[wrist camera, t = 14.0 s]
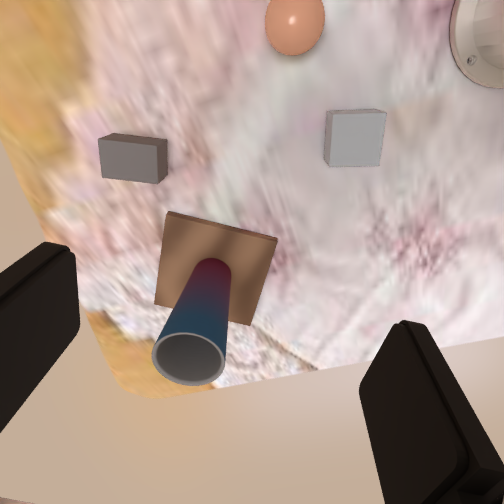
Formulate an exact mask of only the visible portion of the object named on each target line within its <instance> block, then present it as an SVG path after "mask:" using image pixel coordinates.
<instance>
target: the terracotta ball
mask: <svg viewBox="0 0 504 504" xmlns="http://www.w3.org/2000/svg"><path fill="white" fill-rule="evenodd" d="M324 21H325V13H324V7H323V3H322V1H321V0H271V1H270V3H269V5H268V8H267V11H266V16H265V30H266V35H267V38H268V40H269V42H270V44H271V45H272V47H273V48H274V49H275V50H277V51H278V52H280V53H282V54H285V55H299V54H302V53H305V52H306V51H308V50H309V49H311V48H312V47H313V46H314V45H315V43H316V42H317V41H318V39H319V37H320V35H321V33H322V30H323V27H324Z"/></svg>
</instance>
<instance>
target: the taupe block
mask: <svg viewBox="0 0 504 504" xmlns="http://www.w3.org/2000/svg"><path fill="white" fill-rule="evenodd" d="M98 146H99V155H100V163H101V172H102V178H109V179H118V180H126V181H135V182H144V183H152V184H158V183H160V182H161V181H162V180H163V179H164V178H165V177H166V176H167V175H168V171H167V140H166V139H158V138H150V137H141V136H133V135H124V134H116V133H113V134H110V135H107V136H105V137H102V138H99V139H98Z"/></svg>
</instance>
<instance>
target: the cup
mask: <svg viewBox="0 0 504 504" xmlns="http://www.w3.org/2000/svg"><path fill="white" fill-rule="evenodd" d="M230 289H231V271H230V268H229V267H228V265H227V264H226V263H224V262H223V261H221V260H219V259H216V258H207V259H203V260H201V261H200V262H199V263H198V264H197V265H196V266H195V268H194V270H193V272H192V274H191V276H190V278H189V280H188V282H187V283H186V285H185V287H184V289H183V291H182V293H181V295H180V297H179V299H178V301H177V303H176V305H175V307H174V309H173V310H172V312H171V314H170V316H169V318H168V320H167V322H166V324H165V326H164V328H163V330H162V332H161V334H160V335H159V337H158V339H157V341H156V343H155V345H154V347H153V350H152V361H153V364H154V366H155V368H156V369H157V370H158V371H159V373H160V374H162V375H163V376H164V377H165V378H167V379H169V380H170V381H173V382H175V383H178V384H182V385H187V386H199V385H204V384H208V383H210V382H212V381H214V380H216V379H217V378H218V377H219V376H220V375H221V374H222V372H223V370H224V367H225V357H226V343H227V330H228V316H229V302H230Z"/></svg>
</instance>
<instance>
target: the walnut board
mask: <svg viewBox="0 0 504 504" xmlns="http://www.w3.org/2000/svg"><path fill="white" fill-rule="evenodd" d="M276 245H277V238H275V237H271V236H267V235H263V234H259V233H255V232H251V231H247V230H243V229H239V228H235V227H231V226H227V225H223V224H219V223H215V222H211V221H207V220H203V219H199V218H195V217H191V216H187V215H183V214H178V213H174V212H170V211H168V213H167V214H166V219H165V227H164V234H163V241H162V249H161V256H160V264H159V271H158V278H157V286H156V293H155V300H154V304H155V305H160V306H164V307H169V308H173V309H174V307H175V305H176V303H177V301H178V299H179V297H180V295H181V293H182V291H183V289H184V287H185V285H186V283H187V282H188V280H189V278H190V276H191V274H192V272H193V270H194V268H195V266H196V265H197V264H198V263H199V262H200V261H201V260H203V259H207V258H216V259H219V260H221V261H223V262H224V263H226V264H227V265H228V267H229V268H230V271H231V289H230V302H229V316H228V321H230V322H235V323H239V324H244V325H248V326H250V325H251V322H252V318H253V315H254V312H255V309H256V306H257V303H258V300H259V297H260V294H261V291H262V288H263V285H264V282H265V279H266V275H267V272H268V269H269V266H270V263H271V260H272V257H273V254H274V251H275V248H276Z"/></svg>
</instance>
